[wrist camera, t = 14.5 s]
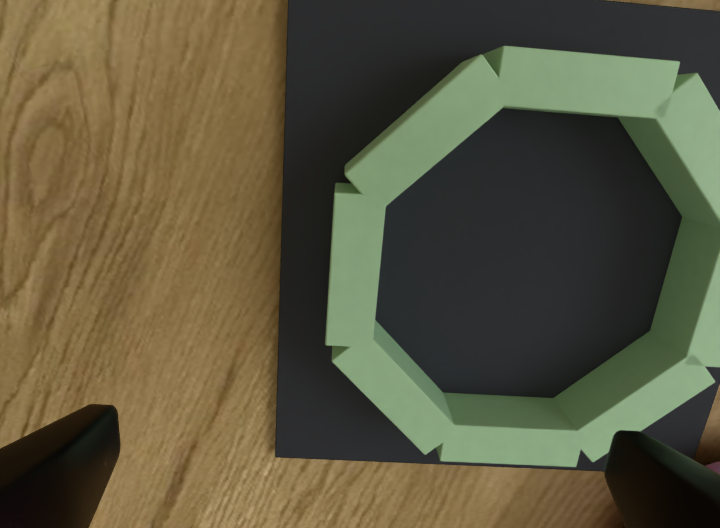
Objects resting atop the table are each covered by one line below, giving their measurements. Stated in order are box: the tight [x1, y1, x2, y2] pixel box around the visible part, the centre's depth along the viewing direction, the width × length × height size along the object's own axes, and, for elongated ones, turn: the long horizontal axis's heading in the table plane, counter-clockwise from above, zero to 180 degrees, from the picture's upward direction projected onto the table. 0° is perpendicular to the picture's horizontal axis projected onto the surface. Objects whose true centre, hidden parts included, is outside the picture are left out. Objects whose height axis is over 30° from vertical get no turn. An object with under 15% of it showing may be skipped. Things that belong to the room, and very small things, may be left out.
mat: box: [275, 0, 720, 471], centre depth 20 cm, size 20×20×1 cm
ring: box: [325, 46, 720, 467], centre depth 19 cm, size 16×16×2 cm
